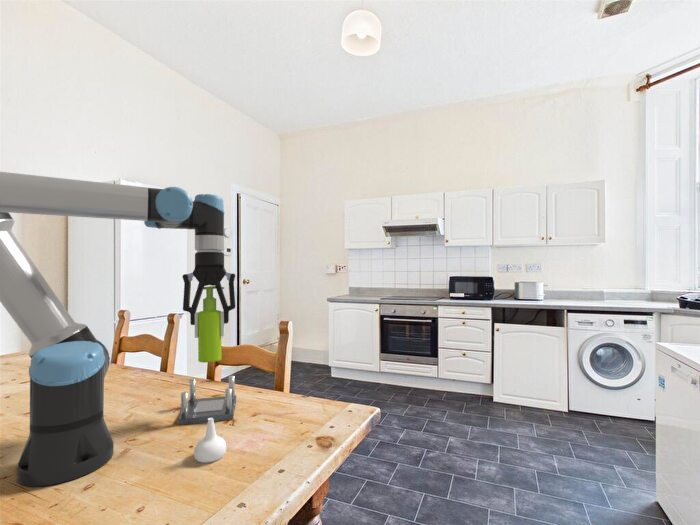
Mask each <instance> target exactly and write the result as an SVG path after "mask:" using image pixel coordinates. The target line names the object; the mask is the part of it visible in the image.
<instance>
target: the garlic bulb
mask: <svg viewBox="0 0 700 525" xmlns="http://www.w3.org/2000/svg"><path fill="white" fill-rule="evenodd" d="M193 450H194V451H193V458H194V460H196V461H197V462H198V463H201V464H208V463H214V462H216V461H218V460H220V459H222V458H223V456H225V454H226V452H227V443H226V440H225V439H224V438H223V437H221V436H219V435H217V432H216V426H215V421H214V420H213V418H209V419H208V422H207V426H206V432H205V436H204V437H203V438H201V439H200V440H199V441H198V442H197V443H196V445H195V447H194V449H193Z"/></svg>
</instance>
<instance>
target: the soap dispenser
mask: <svg viewBox="0 0 700 525" xmlns="http://www.w3.org/2000/svg"><path fill="white" fill-rule="evenodd" d="M215 289H216V287H215V286H212V285H208V286H204V287H203V290H205V291H206V292H205V293H206V297H205V298H203V299H202V310H201V311H197V312H198V338H197V339H198V340H197V343H198V344H197V346H198V348H197V350H198V352H197V353H198V356H197V357H198V358H197V359H198V362H199V363H215V362H218V361H221V360H222V336H221V312H222V310H219V309H217V298H215V297H214V290H215ZM224 289H225V287H223V286H222V290H224ZM216 290H217V289H216Z"/></svg>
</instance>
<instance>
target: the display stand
mask: <svg viewBox="0 0 700 525" xmlns="http://www.w3.org/2000/svg"><path fill="white" fill-rule="evenodd" d="M235 379H236V378H235V375H229V376H228V387H227V388H225V390H224V392H225V393H224V394H225V396H214V397H213V396H212V397H204V398H197V397H196V395H197V394H196V389H197V386H196V385H197V383H196V378H191V379H189V392H188V391H182V392H181V393H180V415H179V417H178V421H177V422H178V424H177V425H178V426H183V425H192V424H193V425H194V424H202V423H208V419H209V418H213V420H214V422H220V421H221V422H222V421H229V420H230V421H231V420H234V417H235V412H236V411H235V410H236V406H237V395H235V390H236V389H235V382H236V381H235Z"/></svg>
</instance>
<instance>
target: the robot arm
mask: <svg viewBox="0 0 700 525" xmlns="http://www.w3.org/2000/svg"><path fill="white" fill-rule="evenodd" d="M224 206H225V205H224V199H223V197H221V196H220V195H216V194H211V193H206V194H205V193H199V194H196V195H195V196H194V200H193V199H192V197H191V195H190V194H189V193H188V192H187V191H186V190H185V189H183V188H181V187H178V186H168V187H165V188H155V187H147V186H145V187H144V186H136V185H128V184H119V183H118V184H116V183H108V182H99V181H90V180H80V179H73V178H62V177H54V176H52V177H51V176H43V175H35V174H34V175H33V174H25V173H18V172H17V173H16V172H7V171H0V304H1V305H2V306H3V308H4V309H5V310H6V311H7V314H8V315H10V316H11V318H12V319H13V321H14V322H15V324H16V325H17V326H18V328H19V329H20V330H21V332H22V333H23V334H24V335H25V337H26V338H27V340H28V341H29V342H30V344H31V347H30V349H29V353H28V356H29V358H30V365H29V368H28V375H29V376H28V377H29V433H28V437H27V440H26V441H25V442H26V443H25V445H24V447H23V450H22V453H21V455H20V458H19V460H18V463H17V465H16V466H17V467H16V482H17V483H19V484H20V485H22V486H25V487H44V486H46V487H47V486H51V485H57V484H61V483H65V482H68V481H72V480H75V479H78V478H81V477H83V476H86V475H88V474H90V473H92V472H95V471H96V470H98V469H100V468H101V467H103V466H104V465H106V464H107V463H108V462H109V461H110V460H111V459H112V458H113V456H114V440H113V437H112V434H111V433H110V431H109V428H108V426H107V423H106V421H105V418H104V409H105V408H104V398H105V396H104V395H105V394H104V392H105V391H104V390H105V388H104V387H105V386H104V385H105V377H106V376H107V372H108V370H109V367H110V360H111V358H110V353H109V350H108V349H107V346H106V345H105V344H104V343H102V342H101V341H99V340H98V339H97V337H96V336H95V335H94V334H93V332H92V331H91V330H90V328H89V327H88V326H87V324H84V323H78V322H76V321H75V320H74V319H73V318H72V316H71V315H70V314H69V312H68V310H67V309H66V308H65V306H64V305H63V303H62V301H61V300H60V299H59V297H58V296H57V294H56V293H55V292H54V290H53V289H52V287H51V286H50V284H49V283H48V281H46V279H45V277H44V276H43V275H42V273H41V272H40V270H39V269H38V267H37V266H36V263H35V262H33V261H32V259H31V258H30V256H29V254H28V253H27V252H26V250H25V248H24V247H23V246H22V245H21V243H20V242H19V240H18V239H17V237H16V236H15V234H14V233H13V232H12V228H13V227H14V224H15V220H14V218H13V217H12V215H11V214H12V213H13V214H24V215H25V214H27V215H29V214H30V215H40V216H41V215H42V216H44V215H46V216H57V217H58V216H60V217H61V216H62V217H75V218H76V217H77V218H93V219H95V218H96V219H108V220H109V219H110V220H125V221H127V220H128V221H141V222H143V223H144V225H145V226H146V227H147V228H154V229H158V230H160V229H174V230H175V229H179V230H194V250H195V251H196V252H195V253H194V269H193V271H192V272H190V273H185V274H183V275H182V280H183V283H184V285H183V286H184V288H183V298H182V299H183V300H182V311H184V312H188V313H189V314H190V319H189V320H190V321H189V322H190V325H191V326H194V338H195V339H196V338H197V339H198V312H199V311H197V310H198V306H199V304H200V300H201V297H202V294H203V292H204V289H203V287H208V286H215V287H216V293H217V295H218V297H219V300H220V304H221V307H222V310H223V311H222V310H221V337H224V336H225V332H226V331H225V327H226V326H225V324H229V321H230V318H229V317H230V314H229V312H230V311H232V310H234V309H235V308H236V294H235V293H236V292H235V279H236V273H231V272H227V271H226V269H225V253H224V252H223V251H224V250H225V207H224ZM225 277H226V280H227V281H228V291H229V293H228V295H229V305H228V301H227V299H226V296H225V293H224V289H222V287H223V286H222V284H221V281H223V279H224V278H225ZM193 278H195V279H196V281H197V282H198V285H197V288H196V291H195V294H194V298H193V301H192V304H191V303H190V302H191V301H190V300H191V290H192V289H191V288H192V287H191V286H192V283H191V282H192V281H193ZM190 304H191V306H190Z"/></svg>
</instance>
